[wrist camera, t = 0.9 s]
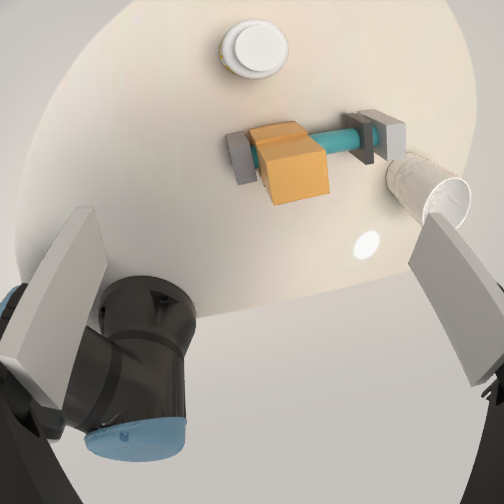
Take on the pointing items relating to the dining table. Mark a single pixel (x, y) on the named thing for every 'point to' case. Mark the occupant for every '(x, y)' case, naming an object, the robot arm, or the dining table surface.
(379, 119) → the teal axle dumbbell
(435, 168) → the white cup
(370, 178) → the dining table surface
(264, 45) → the supplement bottle
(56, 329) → the robot arm
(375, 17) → the dining table surface
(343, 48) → the dining table surface
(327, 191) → the sleeve
